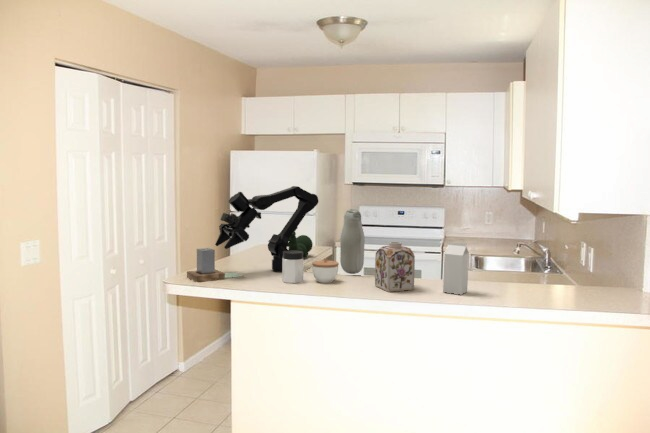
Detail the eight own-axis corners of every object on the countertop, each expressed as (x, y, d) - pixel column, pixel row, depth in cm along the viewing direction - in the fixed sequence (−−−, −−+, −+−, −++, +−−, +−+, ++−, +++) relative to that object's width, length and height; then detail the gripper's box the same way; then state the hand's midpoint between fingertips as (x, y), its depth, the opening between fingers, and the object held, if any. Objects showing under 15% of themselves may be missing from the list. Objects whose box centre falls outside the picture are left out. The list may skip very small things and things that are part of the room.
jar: (290, 284, 230) (291, 254, 229) (277, 280, 236) (278, 251, 235) (307, 281, 236) (308, 252, 235) (294, 278, 242) (294, 249, 241)
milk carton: (461, 295, 216) (463, 244, 214) (442, 292, 219) (444, 242, 218) (467, 291, 222) (469, 242, 220) (449, 289, 225) (451, 240, 224)
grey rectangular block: (209, 276, 242) (209, 247, 241) (214, 278, 238) (214, 249, 237) (196, 277, 239) (196, 248, 238) (201, 280, 235) (201, 250, 234)
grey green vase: (367, 273, 255) (369, 209, 252) (352, 276, 247) (354, 210, 245) (350, 270, 261) (352, 208, 259) (335, 273, 254) (336, 209, 251)
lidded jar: (307, 282, 234) (307, 259, 233) (319, 277, 244) (319, 255, 243) (331, 285, 230) (331, 261, 229) (342, 280, 239) (342, 257, 238)
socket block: (214, 274, 247) (214, 268, 246) (224, 279, 237) (224, 273, 237) (186, 277, 240) (186, 271, 240) (196, 282, 231) (196, 276, 231)
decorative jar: (400, 284, 234) (401, 239, 232) (414, 290, 223) (416, 243, 221) (373, 286, 229) (374, 240, 228) (387, 292, 218) (388, 245, 217)
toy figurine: (300, 266, 278) (317, 253, 302) (299, 227, 275) (316, 218, 298) (282, 264, 281) (299, 252, 304) (281, 226, 278) (299, 217, 301)
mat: (235, 273, 250) (235, 272, 250) (243, 276, 244) (243, 275, 244) (217, 274, 246) (217, 274, 246) (225, 278, 239) (225, 277, 239)
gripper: (223, 204, 250) (198, 231, 245) (242, 208, 235) (216, 236, 230) (239, 222, 255) (216, 248, 250) (259, 226, 240) (234, 254, 235)
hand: (220, 246), depth 241 cm, fingers open, 9 cm apart
